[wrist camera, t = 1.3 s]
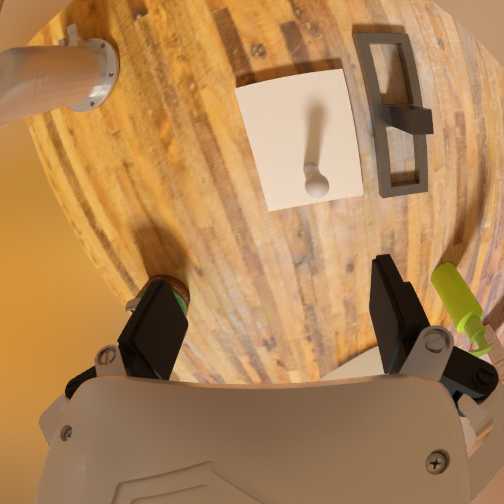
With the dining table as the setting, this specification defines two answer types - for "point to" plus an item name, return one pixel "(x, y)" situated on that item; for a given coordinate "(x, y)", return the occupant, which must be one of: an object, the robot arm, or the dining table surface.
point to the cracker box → (493, 352)
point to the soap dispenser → (461, 305)
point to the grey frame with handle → (395, 113)
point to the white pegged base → (302, 138)
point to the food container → (177, 288)
